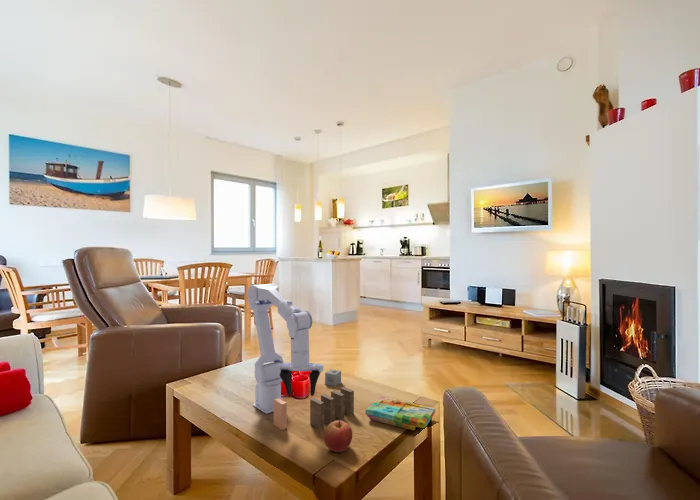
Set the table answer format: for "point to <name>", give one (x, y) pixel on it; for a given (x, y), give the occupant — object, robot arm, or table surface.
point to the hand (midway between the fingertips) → (300, 394)
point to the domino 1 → (280, 414)
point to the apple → (338, 436)
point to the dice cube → (333, 377)
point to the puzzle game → (400, 413)
